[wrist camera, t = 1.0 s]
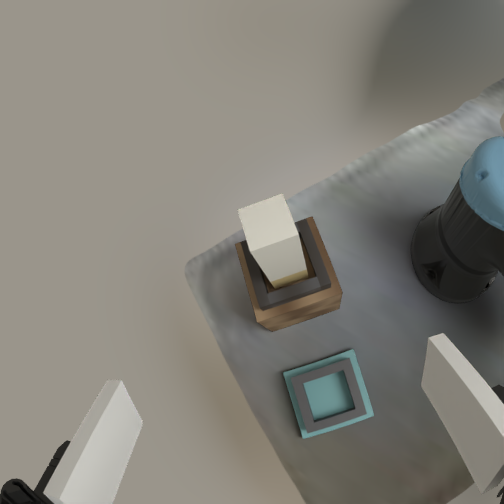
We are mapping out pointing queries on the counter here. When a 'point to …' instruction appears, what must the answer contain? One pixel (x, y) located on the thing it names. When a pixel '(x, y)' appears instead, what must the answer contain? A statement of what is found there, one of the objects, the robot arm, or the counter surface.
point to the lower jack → (328, 394)
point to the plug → (274, 240)
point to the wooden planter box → (293, 284)
